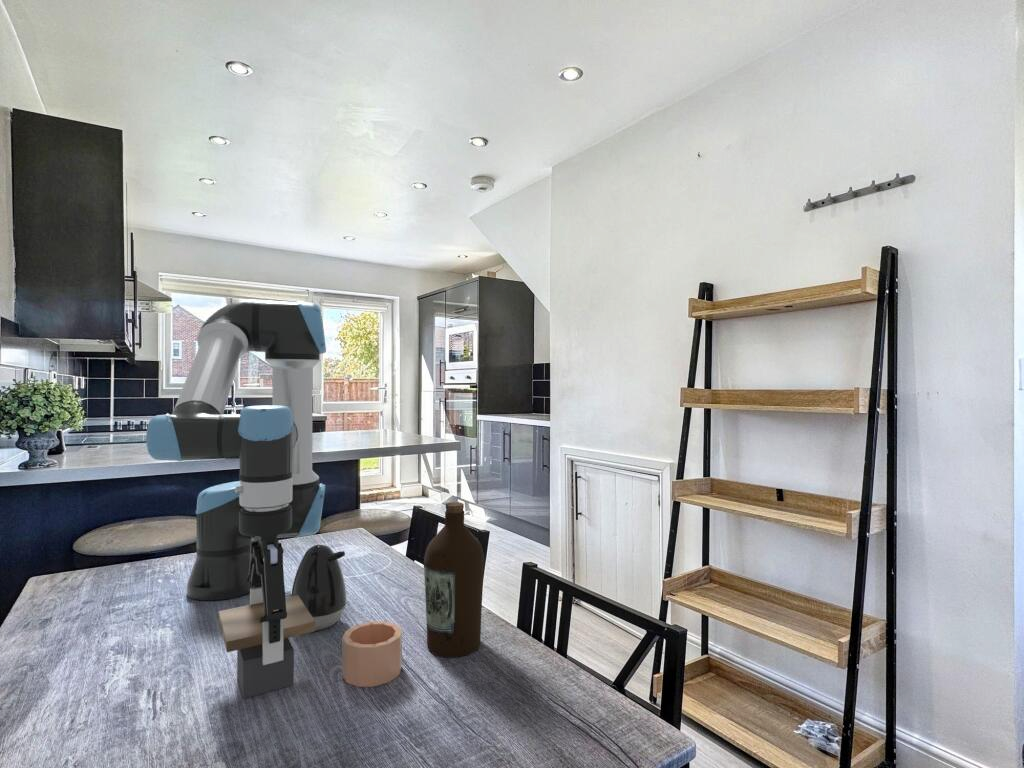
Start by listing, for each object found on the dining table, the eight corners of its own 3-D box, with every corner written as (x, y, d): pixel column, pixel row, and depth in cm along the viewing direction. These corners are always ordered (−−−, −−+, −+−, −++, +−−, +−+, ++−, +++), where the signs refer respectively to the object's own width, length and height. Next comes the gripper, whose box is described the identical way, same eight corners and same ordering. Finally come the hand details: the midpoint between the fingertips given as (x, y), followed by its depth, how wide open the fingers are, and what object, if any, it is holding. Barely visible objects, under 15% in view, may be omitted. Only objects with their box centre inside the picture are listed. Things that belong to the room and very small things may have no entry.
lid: (218, 620, 87) (218, 611, 87) (298, 603, 94) (298, 595, 94) (226, 652, 77) (226, 641, 77) (315, 631, 84) (315, 621, 84)
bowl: (336, 666, 89) (336, 629, 89) (389, 652, 94) (389, 617, 94) (352, 692, 82) (353, 652, 82) (409, 675, 87) (409, 637, 87)
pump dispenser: (329, 639, 99) (330, 555, 99) (278, 633, 101) (278, 551, 101) (356, 615, 109) (357, 539, 109) (309, 611, 111) (309, 536, 111)
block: (237, 677, 86) (237, 642, 86) (284, 664, 90) (284, 631, 90) (243, 699, 80) (243, 661, 80) (293, 684, 84) (293, 649, 84)
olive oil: (451, 626, 105) (452, 495, 104) (495, 641, 98) (496, 502, 98) (410, 647, 96) (411, 505, 96) (456, 666, 90) (457, 514, 90)
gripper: (230, 492, 93) (230, 618, 94) (250, 528, 73) (250, 688, 73) (277, 488, 97) (277, 608, 98) (309, 520, 77) (308, 672, 77)
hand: (265, 643), depth 85 cm, fingers closed on lid, 12 cm apart
